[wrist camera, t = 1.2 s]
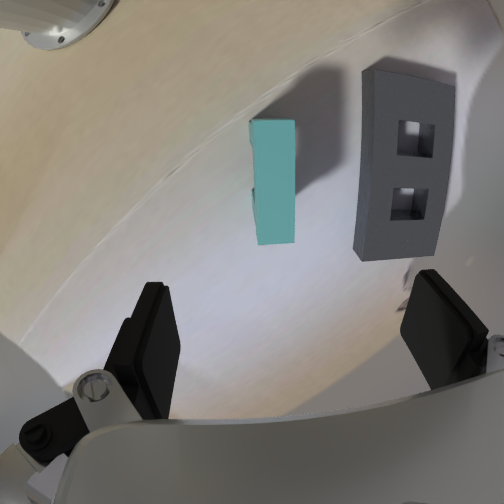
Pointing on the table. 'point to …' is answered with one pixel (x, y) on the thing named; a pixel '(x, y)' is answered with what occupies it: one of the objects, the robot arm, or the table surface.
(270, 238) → the clip
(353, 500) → the robot arm
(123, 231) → the table surface
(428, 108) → the gray slotted base plate
